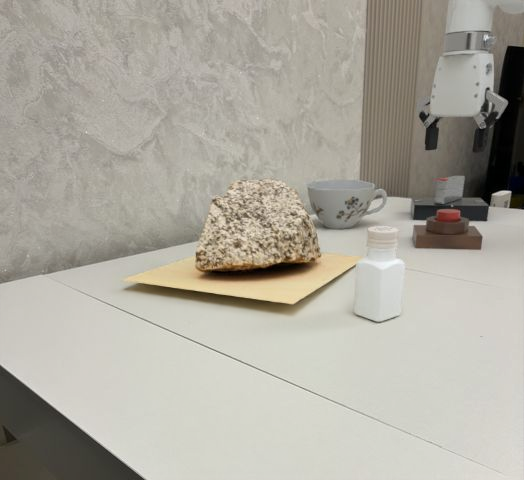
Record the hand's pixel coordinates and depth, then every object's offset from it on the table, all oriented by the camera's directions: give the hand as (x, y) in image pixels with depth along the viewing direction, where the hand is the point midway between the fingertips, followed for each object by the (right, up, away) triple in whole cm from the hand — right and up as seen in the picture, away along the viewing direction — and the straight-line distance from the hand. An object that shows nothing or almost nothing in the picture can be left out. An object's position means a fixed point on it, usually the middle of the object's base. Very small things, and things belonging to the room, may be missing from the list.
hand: (453, 151), depth 102 cm
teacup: (-20, -13, +4) cm, 24 cm away
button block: (-5, -19, -11) cm, 23 cm away
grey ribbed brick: (+2, -7, +9) cm, 12 cm away
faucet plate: (+2, -10, +11) cm, 15 cm away
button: (-6, -16, -13) cm, 21 cm away
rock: (-37, -26, -25) cm, 52 cm away
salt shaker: (-23, -33, -41) cm, 58 cm away
